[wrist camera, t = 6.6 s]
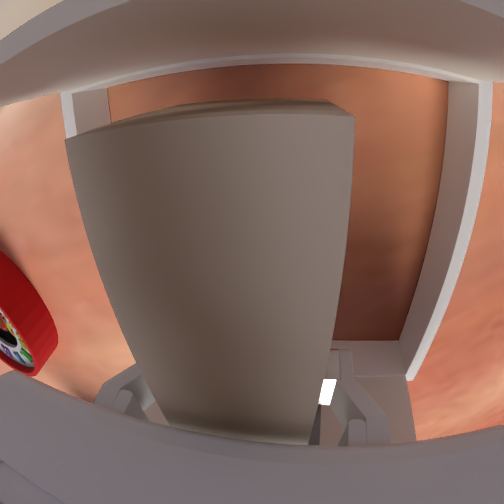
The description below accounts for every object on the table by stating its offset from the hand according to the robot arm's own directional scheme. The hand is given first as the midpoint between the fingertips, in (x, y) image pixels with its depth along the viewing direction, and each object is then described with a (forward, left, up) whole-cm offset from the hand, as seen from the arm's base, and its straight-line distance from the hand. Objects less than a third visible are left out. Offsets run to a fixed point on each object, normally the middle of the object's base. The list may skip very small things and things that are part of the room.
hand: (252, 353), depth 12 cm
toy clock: (+39, +12, -11) cm, 42 cm away
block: (0, 0, -2) cm, 2 cm away
